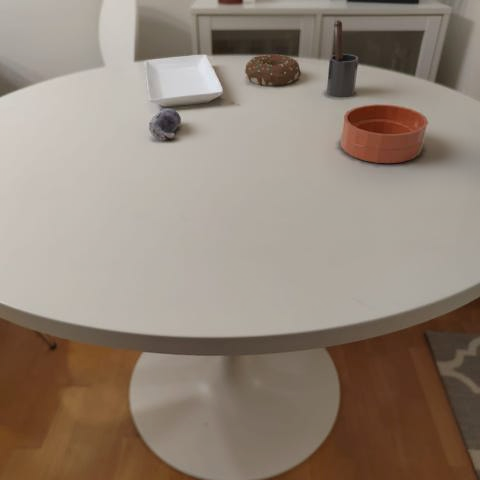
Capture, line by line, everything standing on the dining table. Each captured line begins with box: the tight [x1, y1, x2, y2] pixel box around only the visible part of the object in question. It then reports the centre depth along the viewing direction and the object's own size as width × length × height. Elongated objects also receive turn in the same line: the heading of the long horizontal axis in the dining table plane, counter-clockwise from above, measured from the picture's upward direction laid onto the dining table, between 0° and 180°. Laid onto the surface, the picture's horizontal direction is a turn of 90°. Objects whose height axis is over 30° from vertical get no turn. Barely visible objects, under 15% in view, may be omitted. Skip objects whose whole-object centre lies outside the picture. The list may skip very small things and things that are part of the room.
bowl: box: [340, 104, 429, 164], centre depth 82 cm, size 14×14×6 cm
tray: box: [144, 54, 224, 108], centre depth 112 cm, size 17×31×4 cm, turn 10°
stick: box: [333, 20, 344, 61], centre depth 99 cm, size 2×2×16 cm
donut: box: [244, 53, 302, 87], centre depth 113 cm, size 14×14×5 cm
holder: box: [326, 53, 359, 98], centre depth 103 cm, size 6×6×8 cm
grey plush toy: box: [148, 107, 182, 142], centre depth 91 cm, size 5×5×10 cm
